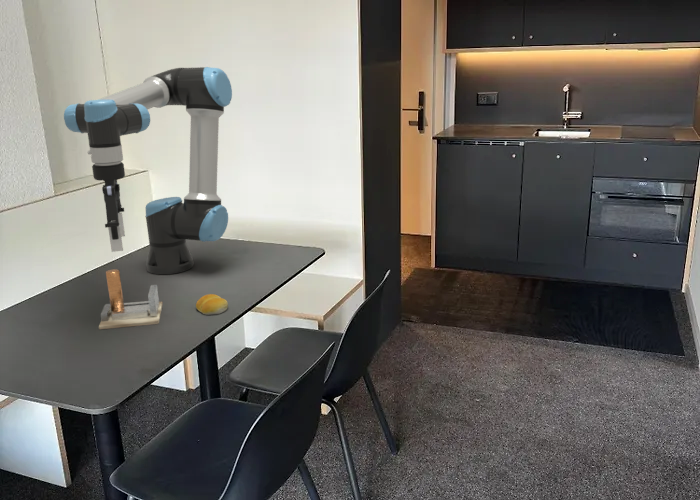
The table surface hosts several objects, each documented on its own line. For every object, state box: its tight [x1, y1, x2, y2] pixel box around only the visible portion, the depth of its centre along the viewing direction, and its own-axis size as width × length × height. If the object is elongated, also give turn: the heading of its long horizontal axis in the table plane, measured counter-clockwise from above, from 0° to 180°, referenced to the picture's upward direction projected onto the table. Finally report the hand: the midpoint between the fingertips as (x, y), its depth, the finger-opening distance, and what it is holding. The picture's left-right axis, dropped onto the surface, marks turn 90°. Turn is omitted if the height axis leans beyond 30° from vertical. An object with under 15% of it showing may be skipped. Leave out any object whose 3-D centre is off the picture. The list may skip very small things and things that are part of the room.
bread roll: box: [195, 293, 229, 316], centre depth 179 cm, size 8×9×4 cm
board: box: [98, 301, 163, 330], centre depth 175 cm, size 14×15×1 cm
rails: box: [100, 300, 149, 321], centre depth 174 cm, size 7×12×2 cm, turn 101°
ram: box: [105, 268, 160, 316], centre depth 173 cm, size 8×12×12 cm, turn 101°
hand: (118, 243), depth 168 cm, fingers open, 13 cm apart
